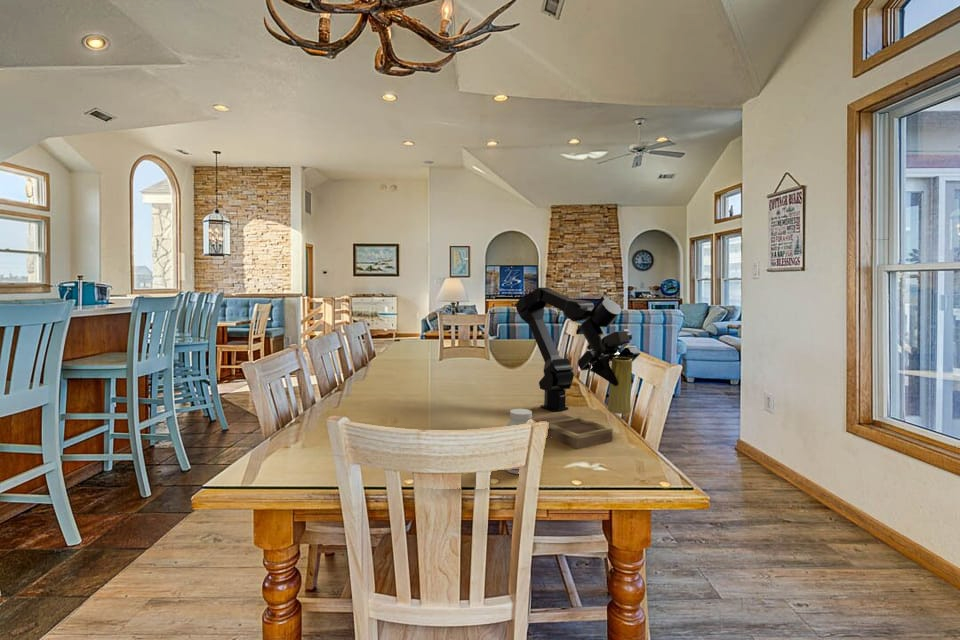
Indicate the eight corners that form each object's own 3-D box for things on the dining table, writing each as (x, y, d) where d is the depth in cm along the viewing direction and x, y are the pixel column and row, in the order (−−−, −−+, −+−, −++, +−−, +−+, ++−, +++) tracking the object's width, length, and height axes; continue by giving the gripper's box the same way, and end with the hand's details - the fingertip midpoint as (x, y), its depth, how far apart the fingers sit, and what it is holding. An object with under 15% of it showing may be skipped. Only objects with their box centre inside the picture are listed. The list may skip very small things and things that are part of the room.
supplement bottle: (518, 461, 117) (519, 405, 116) (541, 470, 112) (543, 411, 111) (497, 469, 112) (499, 410, 111) (520, 478, 108) (522, 417, 107)
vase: (628, 408, 143) (631, 357, 142) (632, 414, 137) (635, 361, 136) (606, 407, 144) (608, 356, 143) (609, 413, 138) (611, 360, 137)
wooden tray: (526, 427, 143) (526, 415, 143) (559, 421, 150) (560, 410, 149) (576, 449, 126) (577, 435, 126) (611, 441, 133) (612, 428, 132)
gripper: (587, 320, 137) (616, 369, 128) (637, 318, 146) (667, 364, 138) (566, 346, 144) (592, 394, 136) (614, 342, 154) (642, 387, 146)
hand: (624, 384), depth 139 cm, fingers closed on vase, 5 cm apart
